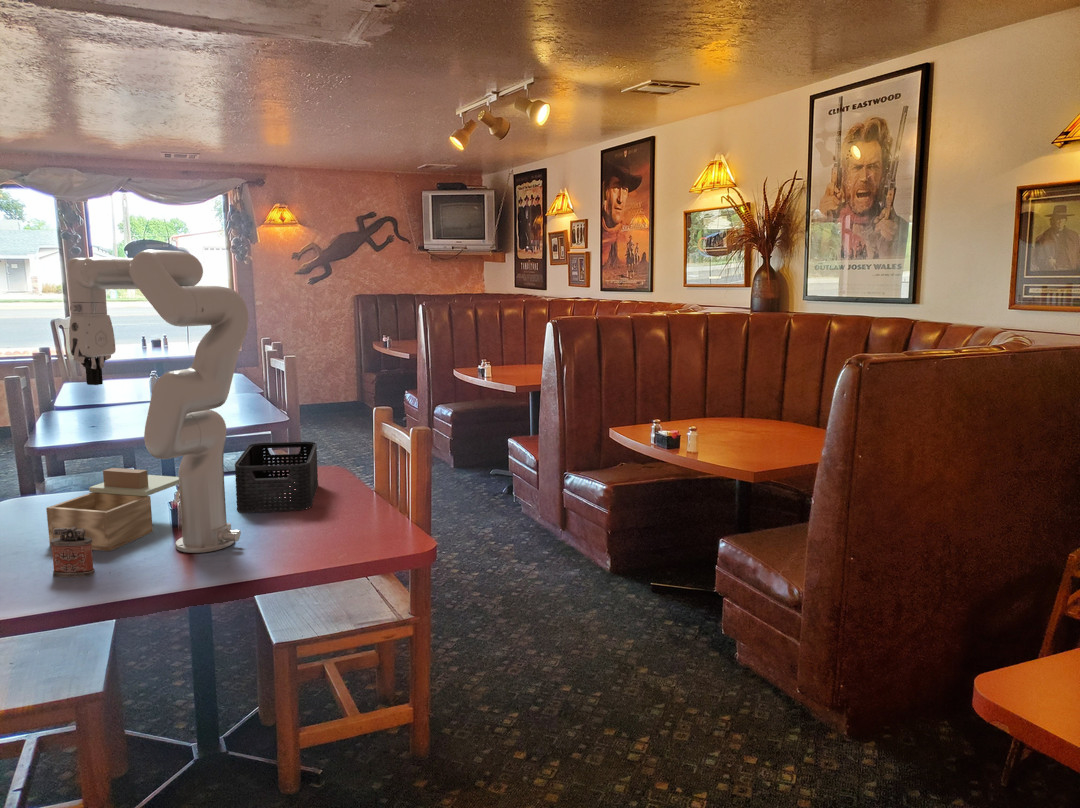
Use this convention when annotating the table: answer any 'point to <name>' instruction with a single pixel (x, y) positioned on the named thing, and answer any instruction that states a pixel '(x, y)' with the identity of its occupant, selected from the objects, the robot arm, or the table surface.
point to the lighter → (72, 553)
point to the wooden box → (103, 518)
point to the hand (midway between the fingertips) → (94, 384)
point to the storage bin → (276, 478)
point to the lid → (132, 482)
